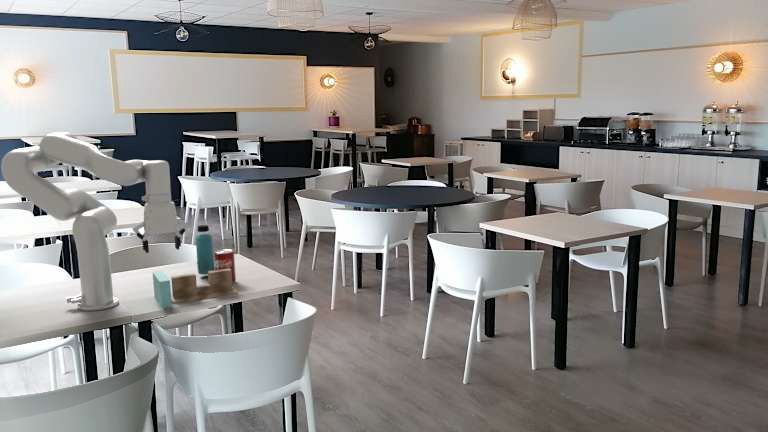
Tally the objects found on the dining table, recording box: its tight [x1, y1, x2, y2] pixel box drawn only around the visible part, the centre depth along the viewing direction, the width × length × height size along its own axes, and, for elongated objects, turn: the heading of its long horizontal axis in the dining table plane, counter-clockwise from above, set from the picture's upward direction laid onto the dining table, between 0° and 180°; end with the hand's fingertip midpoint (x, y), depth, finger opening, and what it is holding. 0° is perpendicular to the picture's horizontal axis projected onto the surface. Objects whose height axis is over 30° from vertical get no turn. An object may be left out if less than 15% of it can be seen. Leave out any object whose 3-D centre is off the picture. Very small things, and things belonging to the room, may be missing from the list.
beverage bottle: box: [195, 224, 215, 276], centre depth 253 cm, size 6×7×20 cm
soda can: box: [213, 248, 237, 285], centre depth 244 cm, size 7×7×12 cm
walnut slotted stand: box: [170, 269, 239, 304], centre depth 229 cm, size 22×8×8 cm, turn 118°
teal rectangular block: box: [152, 270, 173, 309], centre depth 223 cm, size 3×14×9 cm, turn 28°
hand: (162, 250), depth 218 cm, fingers open, 9 cm apart
